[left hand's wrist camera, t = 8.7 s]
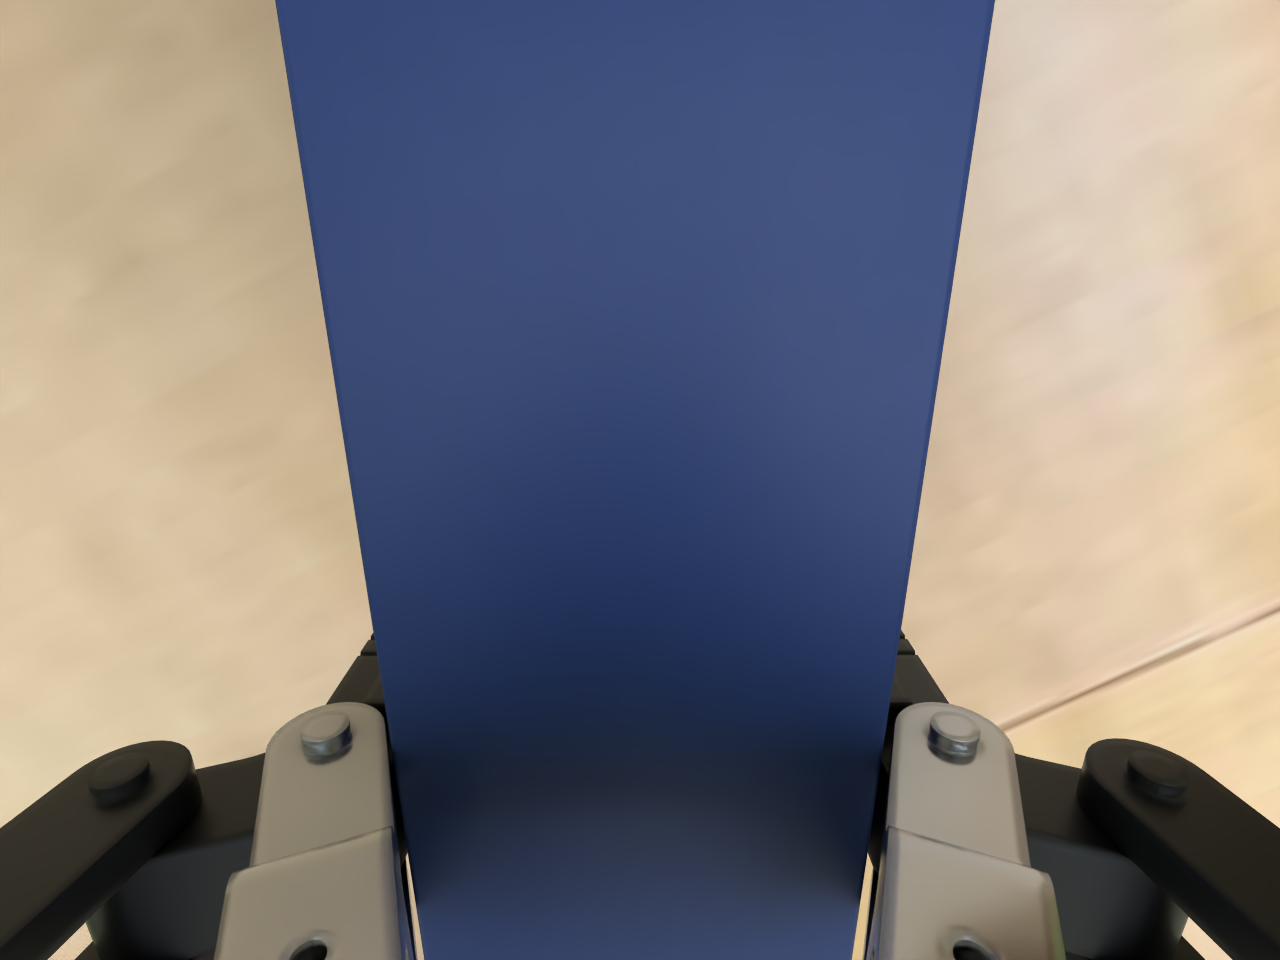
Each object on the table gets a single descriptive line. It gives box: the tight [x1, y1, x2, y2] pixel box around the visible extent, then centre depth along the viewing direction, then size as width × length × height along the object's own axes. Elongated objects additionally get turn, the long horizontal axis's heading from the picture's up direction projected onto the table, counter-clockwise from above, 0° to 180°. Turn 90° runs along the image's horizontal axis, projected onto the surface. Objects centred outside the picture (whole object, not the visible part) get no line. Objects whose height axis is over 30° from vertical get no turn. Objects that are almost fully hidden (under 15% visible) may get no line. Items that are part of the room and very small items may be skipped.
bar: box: [275, 0, 995, 960], centre depth 9 cm, size 24×5×8 cm, turn 0°
